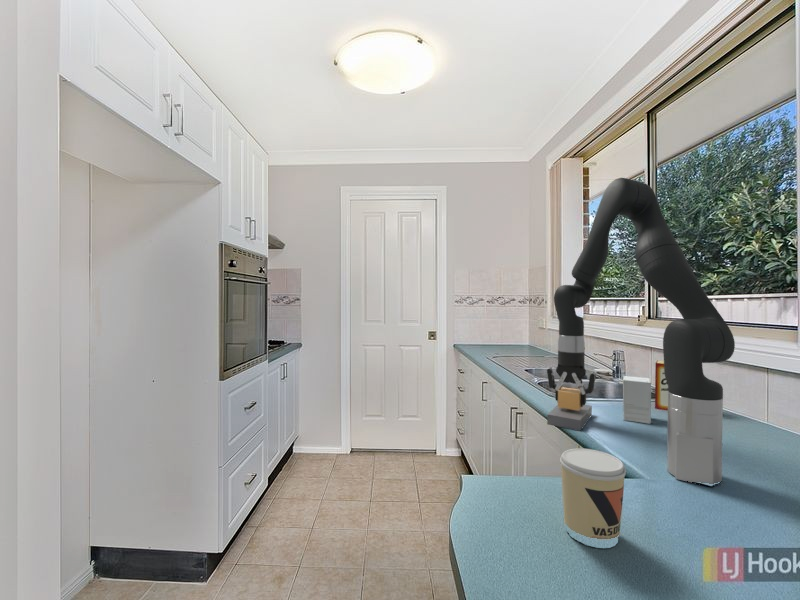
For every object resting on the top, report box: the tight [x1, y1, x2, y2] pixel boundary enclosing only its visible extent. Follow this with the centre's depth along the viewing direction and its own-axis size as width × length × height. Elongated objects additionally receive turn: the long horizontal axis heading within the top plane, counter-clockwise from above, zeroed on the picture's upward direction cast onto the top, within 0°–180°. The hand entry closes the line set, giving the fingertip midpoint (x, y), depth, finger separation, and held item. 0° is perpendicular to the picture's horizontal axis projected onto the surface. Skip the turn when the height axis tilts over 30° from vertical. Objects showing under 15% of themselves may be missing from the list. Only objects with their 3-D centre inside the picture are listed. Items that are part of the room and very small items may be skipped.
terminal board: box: [546, 404, 593, 432], centre depth 118 cm, size 18×9×6 cm, turn 144°
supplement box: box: [622, 375, 652, 425], centre depth 119 cm, size 7×7×13 cm
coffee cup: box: [559, 447, 627, 539], centre depth 61 cm, size 9×9×12 cm
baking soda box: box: [654, 359, 668, 412], centre depth 130 cm, size 10×6×16 cm
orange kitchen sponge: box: [557, 386, 582, 411], centre depth 118 cm, size 6×6×5 cm
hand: (570, 403), depth 118 cm, fingers closed on orange kitchen sponge, 6 cm apart
